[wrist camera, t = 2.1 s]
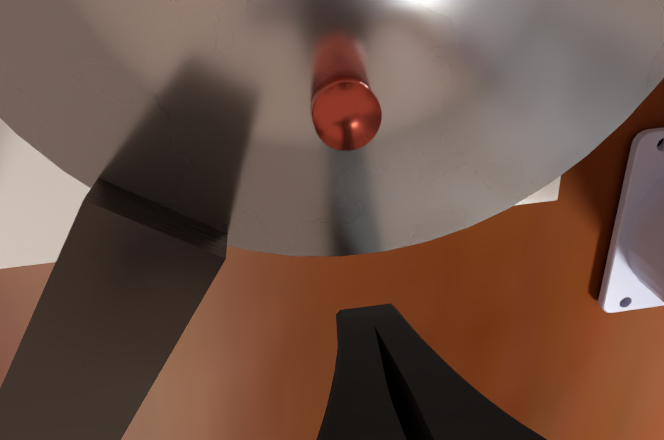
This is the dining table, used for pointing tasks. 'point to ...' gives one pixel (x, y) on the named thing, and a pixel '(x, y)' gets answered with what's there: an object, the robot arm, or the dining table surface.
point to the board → (62, 202)
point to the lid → (279, 151)
